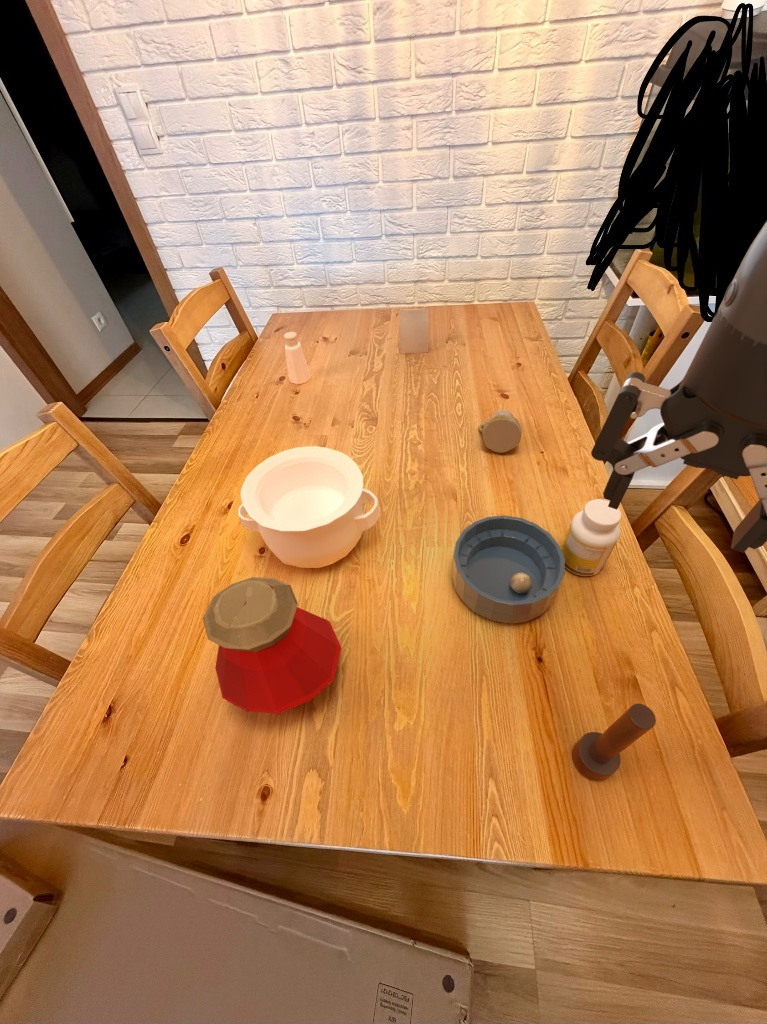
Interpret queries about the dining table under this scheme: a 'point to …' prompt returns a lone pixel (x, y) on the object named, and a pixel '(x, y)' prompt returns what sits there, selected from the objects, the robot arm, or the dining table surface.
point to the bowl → (506, 568)
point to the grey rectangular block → (414, 330)
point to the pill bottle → (591, 538)
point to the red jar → (269, 646)
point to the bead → (521, 583)
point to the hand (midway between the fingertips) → (672, 520)
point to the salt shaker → (296, 360)
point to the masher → (611, 743)
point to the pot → (307, 505)
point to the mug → (501, 432)
